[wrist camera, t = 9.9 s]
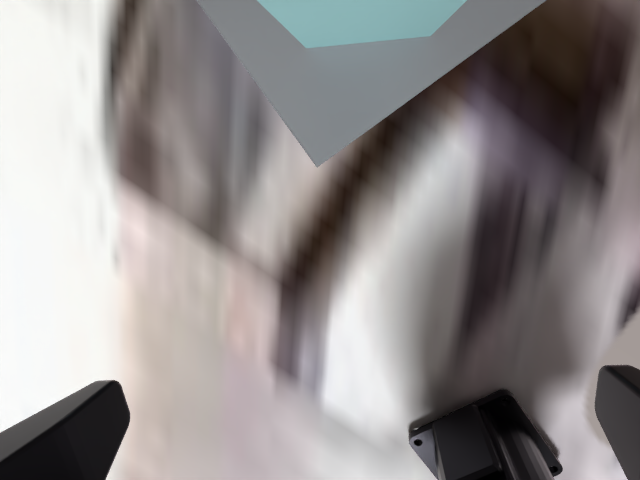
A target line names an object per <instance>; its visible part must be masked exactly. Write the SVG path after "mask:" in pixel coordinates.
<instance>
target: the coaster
mask: <svg viewBox="0 0 640 480" xmlns="http://www.w3.org/2000/svg"><path fill="white" fill-rule="evenodd" d="M196 1H197V2H198V4H199V5H200V6H201V8H202V9H203V10H204V12H205V13H206V15H207V16H208V17H209V19H210V20H211V22H212V23H213V24H214V26H215V27H216V28H217V30H218V31H219V33H220V34H221V35H222V37H223V38H224V40H225V41H226V42H227V44H228V45H229V46H230V48H231V49H232V51H233V52H234V53H235V55H236V56H237V58H238V59H239V60H240V62H241V63H242V64H243V66H244V67H245V69H246V70H247V71H248V73H249V74H250V76H251V77H252V78H253V80H254V81H255V82H256V84H257V85H258V87H259V88H260V89H261V91H262V92H263V94H264V95H265V96H266V98H267V99H268V100H269V102H270V103H271V105H272V106H273V107H274V109H275V110H276V112H277V113H278V114H279V116H280V117H281V118H282V120H283V121H284V123H285V124H286V125H287V127H288V128H289V130H290V131H291V132H292V134H293V135H294V136H295V138H296V139H297V141H298V142H299V143H300V145H301V146H302V148H303V149H304V150H305V152H306V153H307V154H308V156H309V157H310V159H311V160H312V161H313V163H314V164H315V166H316V167H318V166H320V165H321V164H322V163H324V162H325V161H327V160H328V159H329V158H331V157H332V156H333V155H335V154H336V153H337V152H339V151H340V150H342V149H343V148H344V147H346V146H347V145H348V144H350V143H351V142H353V141H354V140H355V139H357V138H358V137H359V136H361V135H362V134H364V133H365V132H366V131H368V130H369V129H370V128H372V127H373V126H374V125H376V124H377V123H379V122H380V121H381V120H383V119H384V118H385V117H387V116H388V115H390V114H391V113H392V112H394V111H395V110H396V109H398V108H399V107H401V106H402V105H403V104H405V103H406V102H407V101H409V100H410V99H411V98H413V97H414V96H416V95H417V94H418V93H420V92H421V91H422V90H424V89H425V88H427V87H428V86H429V85H431V84H432V83H433V82H435V81H436V80H438V79H439V78H440V77H442V76H443V75H444V74H446V73H447V72H449V71H450V70H451V69H453V68H454V67H455V66H457V65H458V64H459V63H461V62H462V61H464V60H465V59H466V58H468V57H469V56H470V55H472V54H473V53H475V52H476V51H477V50H479V49H480V48H481V47H483V46H484V45H486V44H487V43H488V42H490V41H491V40H492V39H494V38H495V37H496V36H498V35H499V34H501V33H502V32H503V31H505V30H506V29H507V28H509V27H510V26H512V25H513V24H514V23H516V22H517V21H518V20H520V19H521V18H523V17H524V16H525V15H527V14H528V13H529V12H531V11H532V10H534V9H535V8H536V7H538V6H539V5H540V4H542V3H543V2H544V1H546V0H467V1H466V2H465V3H464V4H463V5H462V6H461V7H460V8H459V9H458V10H457V11H456V12H455V13H454V14H453V15H452V16H450V17H449V18H448V19H447V20H446V21H445V22H444V23H443V24H442V25H441V26H440V27H439V28H438V29H437V30H436V31H435V32H434V33H433V34H432V35H431V36H427V37H416V38H406V39H396V40H386V41H376V42H366V43H355V44H345V45H335V46H325V47H315V48H305V47H304V46H303V45H302V44H301V43H300V42H299V41H298V40H297V39H296V38H295V37H294V36H293V35H292V34H291V33H290V32H289V31H288V30H287V29H286V28H285V27H284V26H283V25H282V24H281V23H280V22H279V21H278V20H277V19H276V18H275V17H274V16H273V15H271V14H270V13H269V12H268V11H267V10H266V9H265V8H264V7H263V6H262V5H261V4H260V3H259V2H258V1H257V0H196Z"/></svg>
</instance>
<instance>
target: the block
mask: <svg viewBox="0 0 640 480" xmlns="http://www.w3.org/2000/svg"><path fill="white" fill-rule="evenodd" d="M257 1H258V2H259V3H260V4H261V5H262V6H263V7H264V8H265V9H266V10H267V11H268V12H269V13H270V14H271V15H273V16H274V17H275V18H276V19H277V20H278V21H279V22H280V23H281V24H282V25H283V26H284V27H285V28H286V29H287V30H288V31H289V32H290V33H291V34H292V35H293V36H294V37H295V38H296V39H297V40H298V41H299V42H300V43H301V44H302V45H303V46H304V47H305V48H315V47H325V46H335V45H345V44H355V43H366V42H376V41H386V40H396V39H406V38H416V37H427V36H431V35H432V34H433V33H434V32H435V31H436V30H437V29H438V28H439V27H440V26H441V25H442V24H443V23H444V22H445V21H446V20H447V19H448V18H449V17H450V16H452V15H453V14H454V13H455V12H456V11H457V10H458V9H459V8H460V7H461V6H462V5H463V4H464V3H465V2H466V1H467V0H257Z"/></svg>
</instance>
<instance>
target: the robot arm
mask: <svg viewBox="0 0 640 480" xmlns="http://www.w3.org/2000/svg"><path fill="white" fill-rule="evenodd" d="M505 398H507V400H506V401H502V400H503V399H505ZM595 411H596V415H597V418H598V420H599V422H600V424H601V426H602V428H603V430H604V432H605V434H606V437H607V439H608V441H609V443H610V445H611V447H612V449H613V451H614V453H615V455H616V457H617V459H618V461H619V463H620V465H621V467H622V469H623V471H624V473H625V475H626V477H627V479H628V480H640V370H639V369H637V368H635V367H633V366H629V365H607V366H603V367H602V368H601V369H600V371H599V375H598V382H597V390H596V397H595ZM129 422H130V411H129V408H128V405H127V402H126V399H125V396H124V393H123V390H122V387H121V384H120V383H119V382H118V381H115V380H104V381H96V382H94V383H92V384H90V385H88V386H86V387H84V388H82V389H81V390H79V391H77V392H75V393H73V394H71V395H69V396H68V397H66V398H64V399H62V400H60V401H58V402H56V403H55V404H53V405H51V406H49V407H47V408H45V409H44V410H42V411H40V412H38V413H36V414H34V415H32V416H31V417H29V418H27V419H25V420H23V421H21V422H19V423H18V424H16V425H14V426H12V427H10V428H8V429H6V430H5V431H3V432H1V433H0V480H106V477H107V475H108V473H109V470H110V468H111V466H112V463H113V461H114V459H115V456H116V454H117V452H118V449H119V447H120V445H121V442H122V440H123V438H124V435H125V433H126V431H127V428H128V426H129ZM416 439H420V440H418V441H417V440H416ZM409 444H410V446H411V447H412V448H413V450H414V451H415V452H416V453H417V455H418V456H419V457H420V458H421V459H422V461H423V462H424V463H425V464H426V466H427V467H428V468H429V469H430V471H431V472H432V473H433V474H434V476H435V477H436V478H437V479H438V480H554V478H553V477H554V476H557V475H559V474H560V473H561V472H562V469H563V468H562V466H561V464H560V462H559V460H558V459H557V457H556V456H555V454H554V453H553V452H552V450H551V449H550V447H549V446H548V444H547V443H546V442H545V440H544V439H543V437H542V436H541V434H540V433H539V432H538V430H537V429H536V427H535V426H534V424H533V423H532V422H531V420H530V419H529V417H528V416H527V414H526V413H525V412H524V410H523V409H522V407H521V406H520V404H519V403H518V401H517V400H516V399H515V397H514V396H513V394H512V393H511V392H510V391H508V390H500V391H497V392H495V393H493V394H491V395H489V396H487V397H485V398H483V399H480V400H478V401H476V402H474V403H472V404H470V405H468V406H466V407H463V408H461V409H459V410H457V411H455V412H453V413H451V414H449V415H446V416H444V417H442V418H440V419H438V420H436V421H434V422H432V423H429V424H427V425H425V426H423V427H421V428H419V429H417V430H415V431H412V432H411V433H410V434H409ZM551 466H552V467H551Z"/></svg>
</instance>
